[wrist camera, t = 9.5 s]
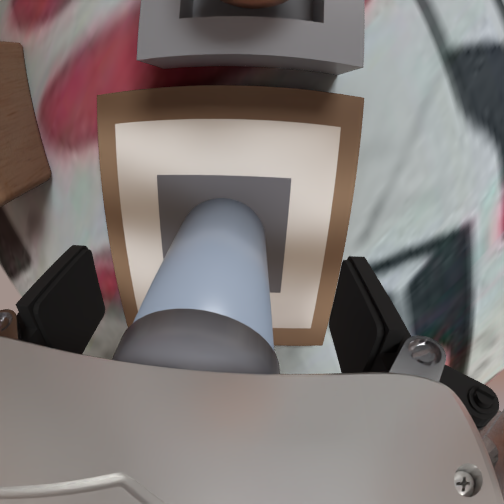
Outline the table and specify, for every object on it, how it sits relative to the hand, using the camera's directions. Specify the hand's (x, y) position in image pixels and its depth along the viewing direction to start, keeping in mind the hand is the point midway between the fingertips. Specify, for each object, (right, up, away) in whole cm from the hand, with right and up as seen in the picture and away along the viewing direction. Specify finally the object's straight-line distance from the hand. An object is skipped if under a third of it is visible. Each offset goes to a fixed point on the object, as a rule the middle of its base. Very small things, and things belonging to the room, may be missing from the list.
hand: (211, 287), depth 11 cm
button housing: (+1, +13, -1) cm, 13 cm away
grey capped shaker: (0, +2, +4) cm, 4 cm away
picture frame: (0, +2, +5) cm, 5 cm away
